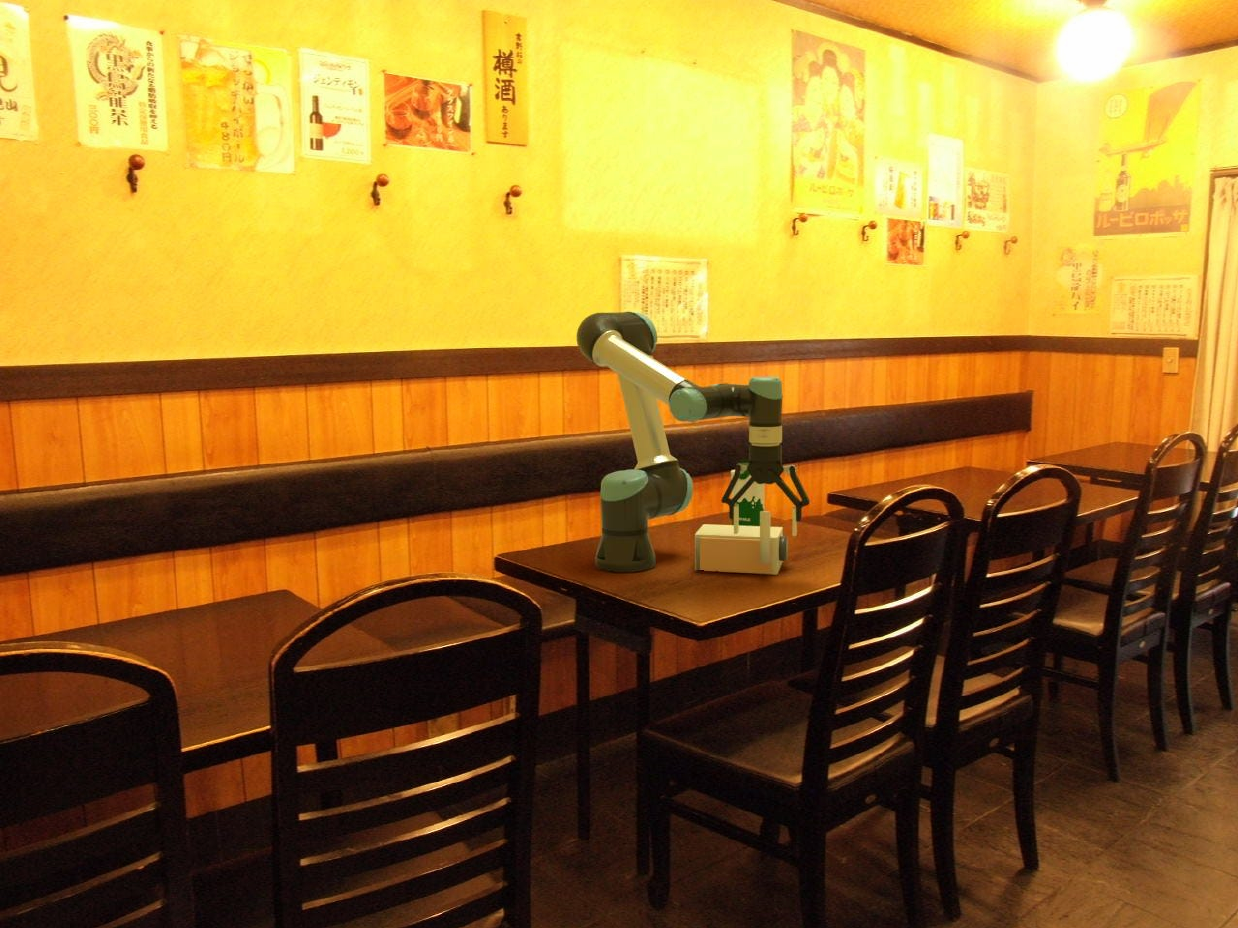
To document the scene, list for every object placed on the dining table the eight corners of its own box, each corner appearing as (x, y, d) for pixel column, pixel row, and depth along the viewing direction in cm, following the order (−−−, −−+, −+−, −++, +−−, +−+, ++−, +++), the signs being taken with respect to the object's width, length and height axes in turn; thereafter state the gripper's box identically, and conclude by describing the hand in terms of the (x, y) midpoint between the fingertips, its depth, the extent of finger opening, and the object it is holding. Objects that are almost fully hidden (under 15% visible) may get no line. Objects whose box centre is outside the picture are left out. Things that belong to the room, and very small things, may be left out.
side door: (692, 573, 234) (692, 510, 232) (696, 568, 239) (695, 506, 237) (769, 577, 230) (769, 513, 227) (771, 572, 234) (772, 509, 232)
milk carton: (727, 533, 280) (727, 463, 277) (741, 527, 287) (741, 459, 284) (756, 536, 275) (756, 465, 272) (769, 530, 282) (769, 461, 279)
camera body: (694, 570, 239) (694, 534, 238) (703, 558, 251) (703, 524, 250) (784, 574, 234) (784, 538, 232) (788, 562, 245) (789, 527, 244)
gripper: (709, 445, 226) (709, 535, 229) (819, 447, 219) (818, 539, 223) (714, 441, 233) (715, 528, 236) (821, 442, 227) (820, 532, 230)
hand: (765, 533), depth 229 cm, fingers open, 13 cm apart
